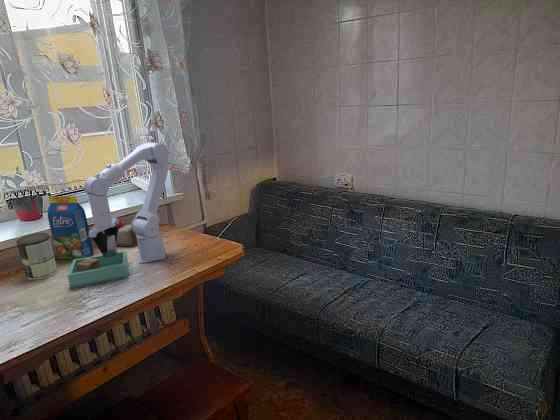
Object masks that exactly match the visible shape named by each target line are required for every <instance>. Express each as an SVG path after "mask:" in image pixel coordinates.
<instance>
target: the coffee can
mask: <svg viewBox="0 0 560 420" xmlns="http://www.w3.org/2000/svg"><path fill="white" fill-rule="evenodd" d="M50 237H51V236H50V234H49V233H48V232H37V233H31V234H28V235H24V236H22V237H19V238H18V239H17V240H16V245H17V248H18V251H19V256H20V259H21V262H22V267H23V270H24V274H25V278H26V279H27V280H28V281H37V280H42V279H45V278H48V277H51V276H53V275H54V274H56V273H57V272H58V267H57V266H58V265H57V262H56V258H55V255H54V254H55V253H54V251H53V247H52V246H53V245H52V242H51V238H50Z"/></svg>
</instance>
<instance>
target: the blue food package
mask: <svg viewBox="0 0 560 420" xmlns="http://www.w3.org/2000/svg"><path fill="white" fill-rule="evenodd" d="M48 199H49V203H50V204H49V205H48V209H47V220H48V225H49V227H50V232H51V237H52V240H53V245H54V250H55V252H56V257H57V260H65V261H66V260H70V261H71V260H72V261H73V260H75V259H81V258H87V257H93V256H94V247H93V243H92V239H91V238H90V237H89V231H90V228H89V224H88V219H87V215H86V212H85V209H84V207H83V205H81V204H79V202H78V198H77V195H65V196H64V195H63V196H62V195H60V196H59V195H56V196H52V195H51V196H50V195H49V196H48Z"/></svg>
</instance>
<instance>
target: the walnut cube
mask: <svg viewBox="0 0 560 420" xmlns="http://www.w3.org/2000/svg"><path fill="white" fill-rule="evenodd" d="M77 268H78V272H83V271H88V270H94V269H99V268H100V263H99V259H91V258H87V259H85V260H83V261H81V262H79V263H77Z"/></svg>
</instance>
